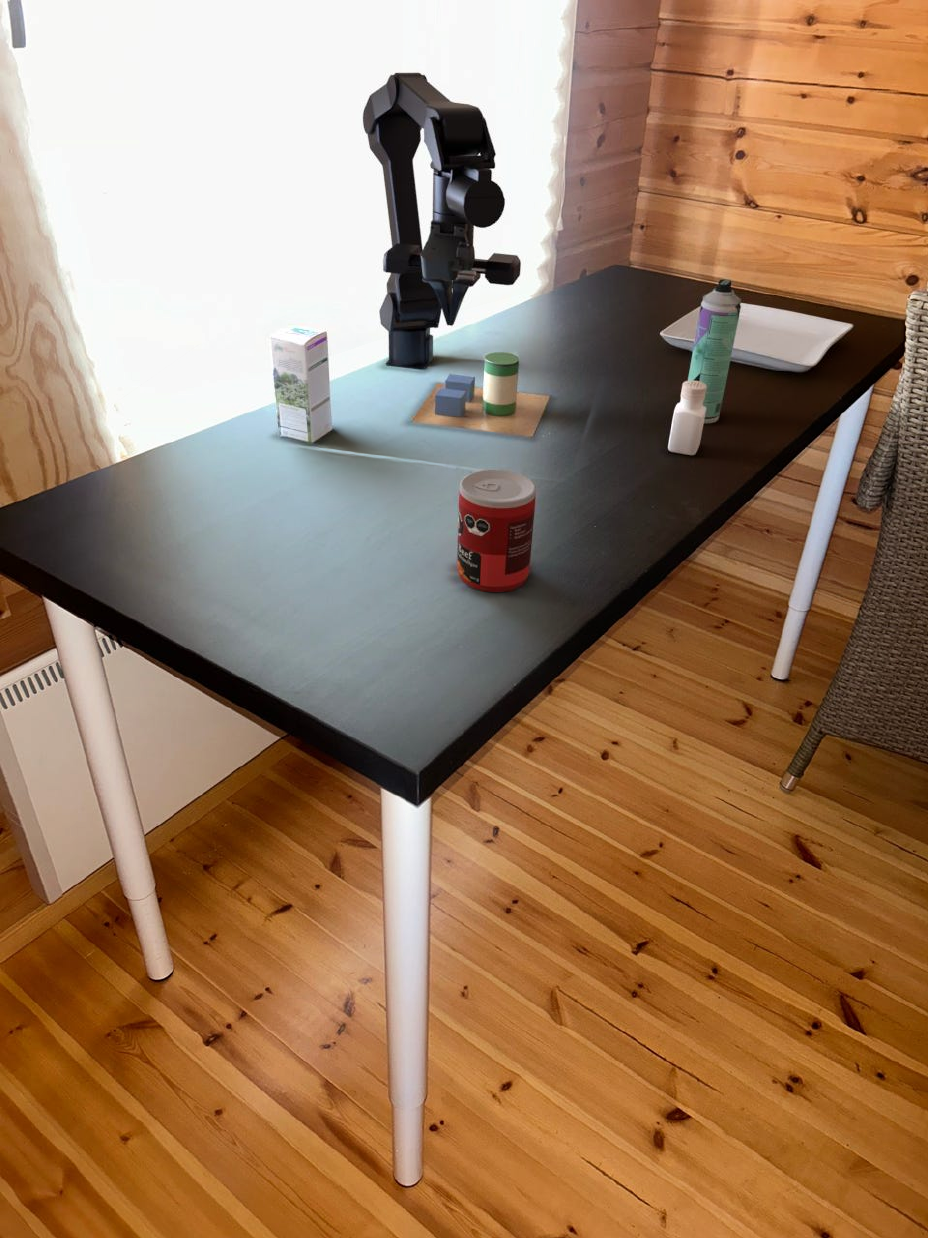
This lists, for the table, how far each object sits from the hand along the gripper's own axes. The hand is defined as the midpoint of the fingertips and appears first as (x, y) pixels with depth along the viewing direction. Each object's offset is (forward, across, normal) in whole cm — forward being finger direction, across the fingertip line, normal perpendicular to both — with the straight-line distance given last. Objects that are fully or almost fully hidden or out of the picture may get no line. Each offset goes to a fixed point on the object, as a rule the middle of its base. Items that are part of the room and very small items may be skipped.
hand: (450, 324), depth 138 cm
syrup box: (+12, -16, -18) cm, 27 cm away
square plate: (+12, +46, +42) cm, 63 cm away
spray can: (+12, +38, +7) cm, 40 cm away
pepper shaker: (+12, +36, -6) cm, 38 cm away
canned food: (+12, +17, -47) cm, 51 cm away
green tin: (+11, +5, -2) cm, 12 cm away
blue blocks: (+11, +2, -2) cm, 12 cm away
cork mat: (+12, +6, -2) cm, 13 cm away
